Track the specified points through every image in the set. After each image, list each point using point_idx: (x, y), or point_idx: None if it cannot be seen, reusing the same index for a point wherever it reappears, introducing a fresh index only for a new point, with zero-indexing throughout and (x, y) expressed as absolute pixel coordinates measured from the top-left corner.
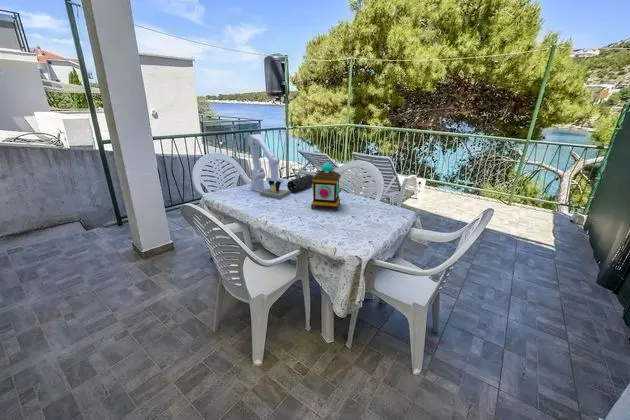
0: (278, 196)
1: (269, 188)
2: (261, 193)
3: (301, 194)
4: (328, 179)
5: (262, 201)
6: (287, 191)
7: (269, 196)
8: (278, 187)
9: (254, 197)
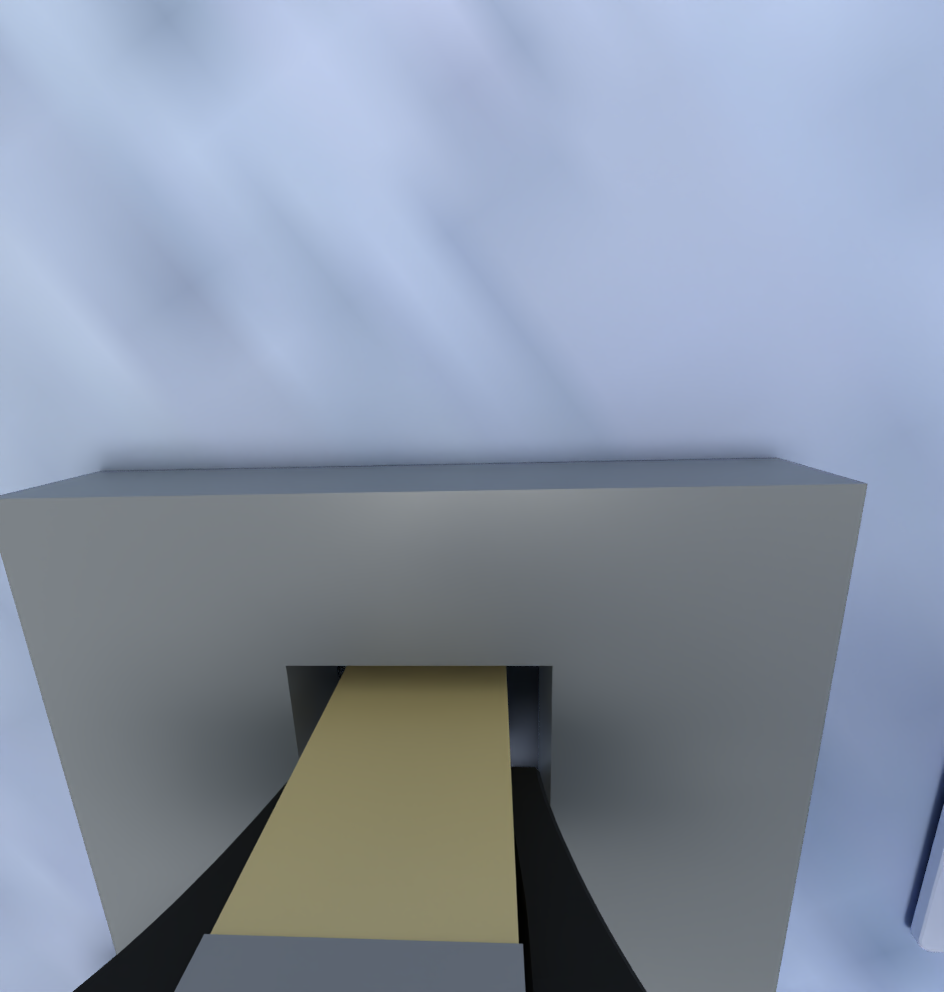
0: (77, 489)
1: (775, 933)
2: (769, 474)
3: (18, 960)
4: None
5: (371, 9)
6: (132, 913)
7: (436, 472)
8: None
9: (865, 229)
